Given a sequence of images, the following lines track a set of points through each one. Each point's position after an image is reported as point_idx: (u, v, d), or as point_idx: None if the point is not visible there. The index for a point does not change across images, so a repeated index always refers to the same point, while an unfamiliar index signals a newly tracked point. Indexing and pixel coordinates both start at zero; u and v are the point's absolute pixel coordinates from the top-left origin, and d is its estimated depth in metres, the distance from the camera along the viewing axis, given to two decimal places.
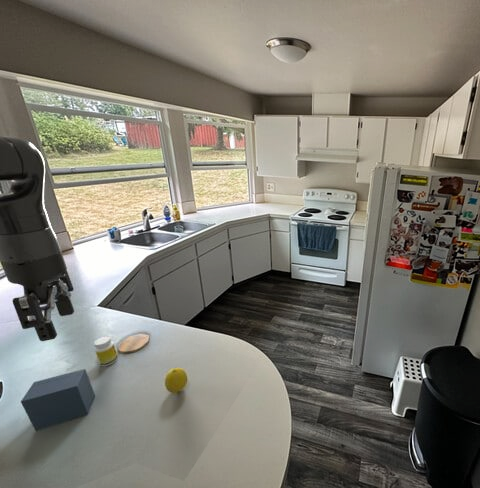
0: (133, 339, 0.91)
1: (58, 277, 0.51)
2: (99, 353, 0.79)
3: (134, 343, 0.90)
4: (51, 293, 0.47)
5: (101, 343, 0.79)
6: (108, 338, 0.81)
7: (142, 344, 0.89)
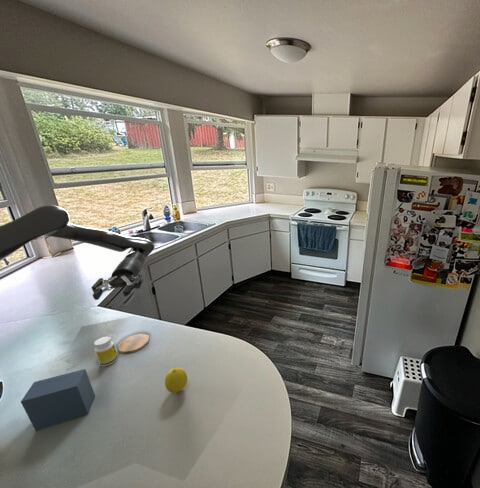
0: (133, 339, 0.91)
1: None
2: (99, 353, 0.79)
3: (134, 343, 0.90)
4: None
5: (101, 343, 0.79)
6: (108, 338, 0.81)
7: (142, 344, 0.89)
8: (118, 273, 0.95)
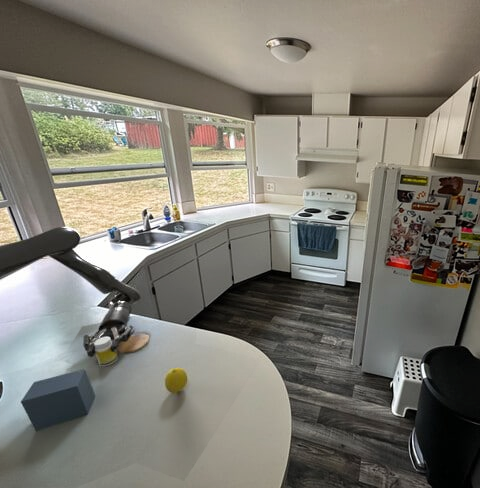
0: (133, 339, 0.91)
1: None
2: (98, 353, 0.79)
3: (134, 343, 0.90)
4: (118, 336, 0.88)
5: (101, 343, 0.79)
6: (108, 338, 0.81)
7: (142, 344, 0.89)
8: (107, 325, 0.88)
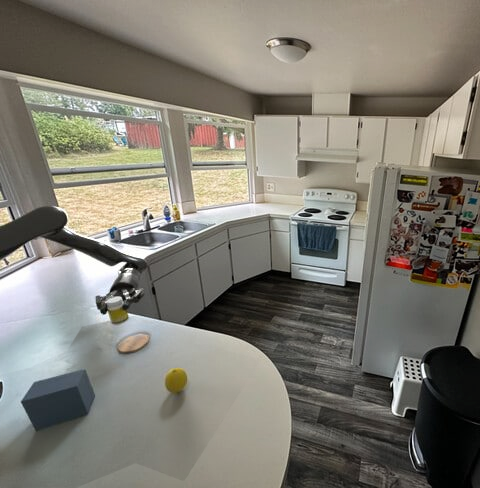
0: (133, 339, 0.91)
1: None
2: (111, 311, 0.81)
3: (134, 343, 0.90)
4: None
5: (113, 301, 0.81)
6: (120, 298, 0.83)
7: (142, 344, 0.89)
8: (118, 288, 0.90)
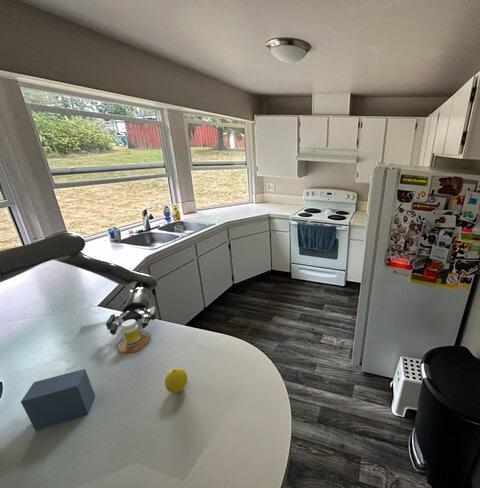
0: None
1: None
2: (126, 334, 0.86)
3: None
4: None
5: (128, 325, 0.86)
6: (134, 320, 0.88)
7: (142, 344, 0.89)
8: (130, 308, 0.95)
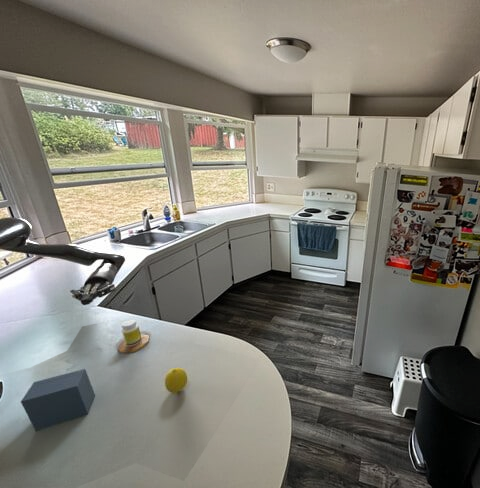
0: None
1: None
2: (126, 334, 0.86)
3: None
4: (101, 293, 0.92)
5: (128, 325, 0.86)
6: (134, 320, 0.88)
7: (142, 344, 0.89)
8: (92, 281, 0.93)
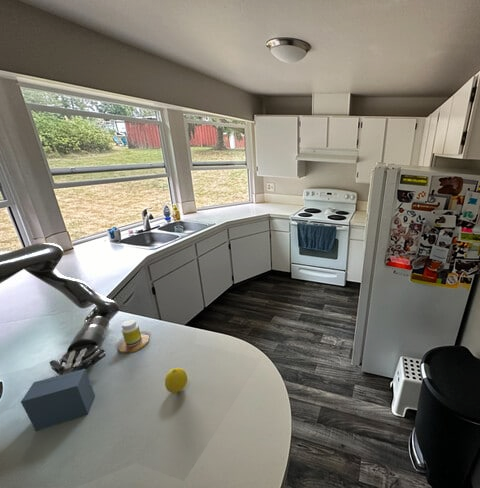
0: None
1: None
2: (126, 334, 0.86)
3: None
4: None
5: (128, 325, 0.86)
6: (134, 320, 0.88)
7: (142, 344, 0.89)
8: (77, 346, 0.77)
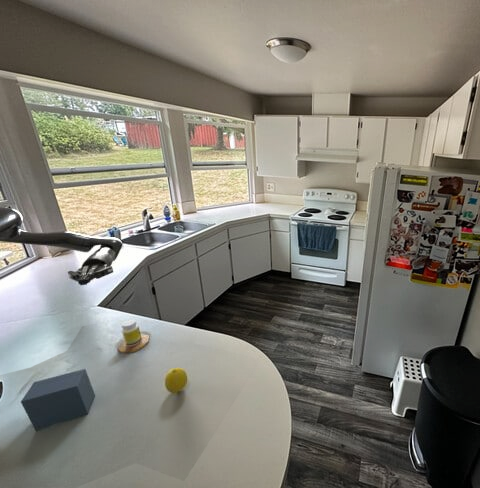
0: None
1: None
2: (126, 334, 0.86)
3: None
4: (99, 275, 0.92)
5: (128, 325, 0.86)
6: (134, 320, 0.88)
7: (142, 344, 0.89)
8: (90, 263, 0.93)
